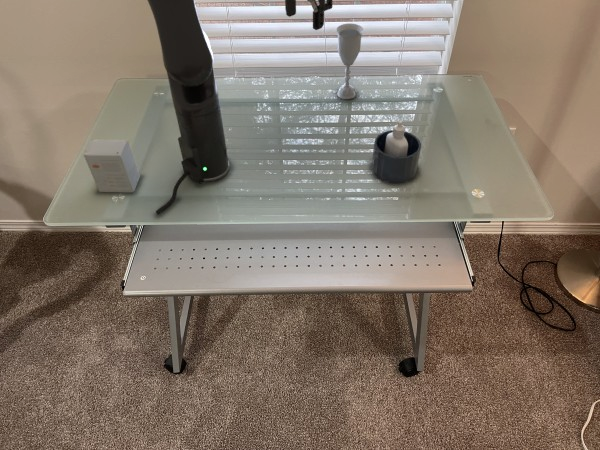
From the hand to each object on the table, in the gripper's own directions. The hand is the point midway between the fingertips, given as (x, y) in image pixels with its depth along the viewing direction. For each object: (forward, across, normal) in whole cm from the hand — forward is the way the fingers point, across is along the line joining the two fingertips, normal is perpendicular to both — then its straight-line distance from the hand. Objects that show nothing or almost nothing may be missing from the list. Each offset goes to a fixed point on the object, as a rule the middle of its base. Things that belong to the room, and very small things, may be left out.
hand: (304, 21), depth 105 cm
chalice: (+28, -6, +20) cm, 35 cm away
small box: (+28, -13, -44) cm, 54 cm away
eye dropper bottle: (+28, +24, +6) cm, 37 cm away
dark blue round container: (+28, +24, +6) cm, 37 cm away
